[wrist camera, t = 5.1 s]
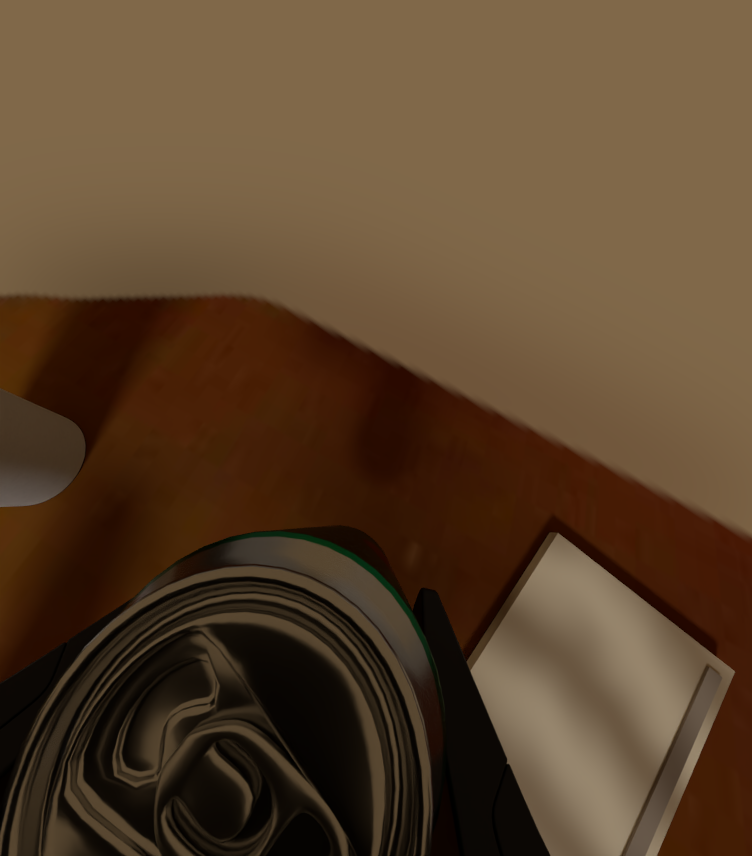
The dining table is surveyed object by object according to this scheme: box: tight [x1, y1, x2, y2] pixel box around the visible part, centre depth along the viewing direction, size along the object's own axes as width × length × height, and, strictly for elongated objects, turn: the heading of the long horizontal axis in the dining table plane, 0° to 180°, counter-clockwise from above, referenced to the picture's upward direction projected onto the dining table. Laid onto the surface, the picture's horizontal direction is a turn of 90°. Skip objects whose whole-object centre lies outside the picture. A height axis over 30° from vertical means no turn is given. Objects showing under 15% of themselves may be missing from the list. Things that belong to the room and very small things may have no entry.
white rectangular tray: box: [467, 532, 735, 856], centre depth 18 cm, size 14×12×1 cm
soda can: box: [0, 525, 447, 856], centre depth 9 cm, size 5×5×12 cm
